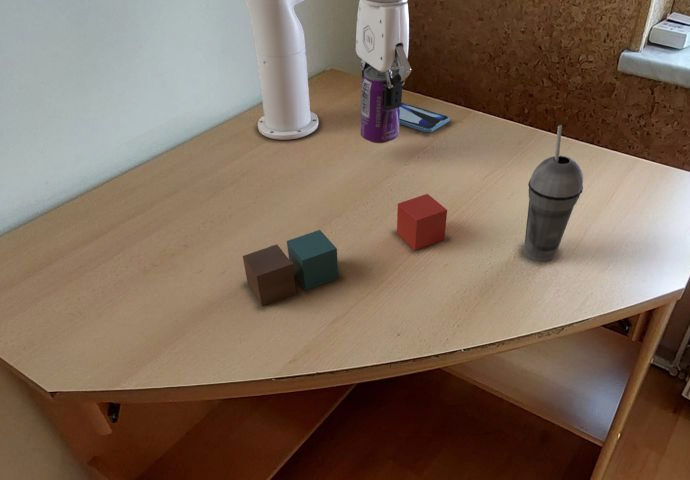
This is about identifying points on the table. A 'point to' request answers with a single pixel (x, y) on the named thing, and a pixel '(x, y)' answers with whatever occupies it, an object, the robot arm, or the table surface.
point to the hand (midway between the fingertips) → (381, 98)
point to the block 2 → (313, 259)
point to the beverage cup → (551, 203)
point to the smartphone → (421, 118)
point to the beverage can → (377, 108)
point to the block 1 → (269, 274)
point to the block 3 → (421, 221)
